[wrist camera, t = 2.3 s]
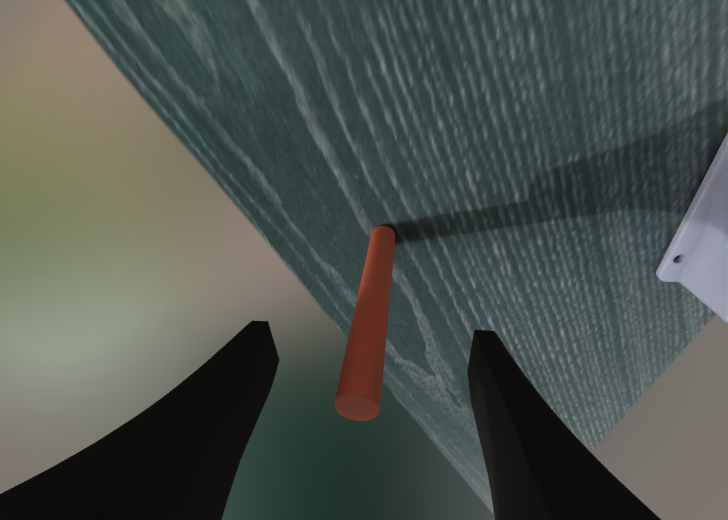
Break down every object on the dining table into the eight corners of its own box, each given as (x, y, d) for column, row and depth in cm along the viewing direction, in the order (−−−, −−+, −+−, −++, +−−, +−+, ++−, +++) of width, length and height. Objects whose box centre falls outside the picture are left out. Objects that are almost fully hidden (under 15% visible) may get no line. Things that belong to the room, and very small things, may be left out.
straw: (395, 246, 19) (380, 423, 10) (372, 246, 19) (336, 419, 10) (395, 225, 18) (378, 395, 9) (371, 224, 19) (331, 392, 9)
